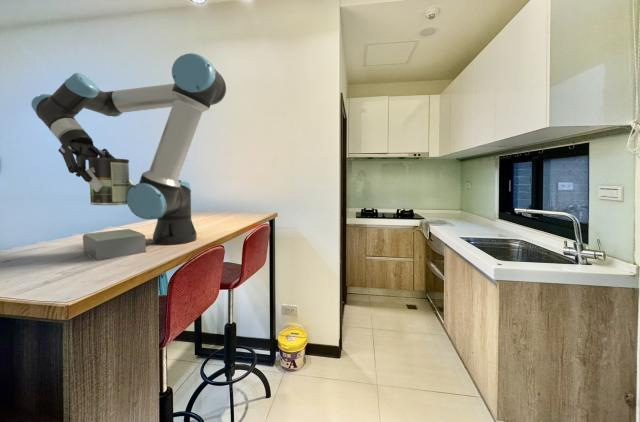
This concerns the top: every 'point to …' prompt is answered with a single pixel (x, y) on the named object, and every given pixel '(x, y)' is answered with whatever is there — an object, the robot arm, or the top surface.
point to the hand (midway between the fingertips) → (116, 188)
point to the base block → (113, 243)
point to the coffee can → (110, 180)
